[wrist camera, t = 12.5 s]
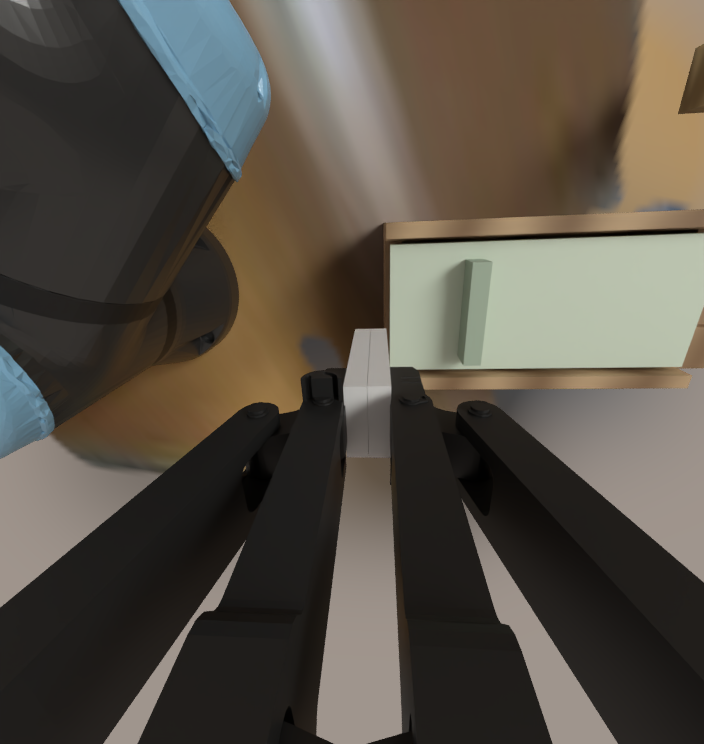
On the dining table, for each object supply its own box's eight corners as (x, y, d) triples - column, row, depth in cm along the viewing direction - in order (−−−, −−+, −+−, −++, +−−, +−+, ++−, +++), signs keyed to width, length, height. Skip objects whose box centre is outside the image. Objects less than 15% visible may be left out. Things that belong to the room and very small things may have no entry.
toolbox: (383, 347, 36) (386, 389, 27) (383, 222, 31) (386, 222, 22) (679, 343, 34) (791, 387, 25) (727, 208, 29) (886, 201, 20)
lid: (389, 365, 28) (390, 380, 25) (389, 244, 24) (391, 246, 22) (671, 361, 26) (705, 378, 24) (716, 231, 23) (762, 233, 20)
